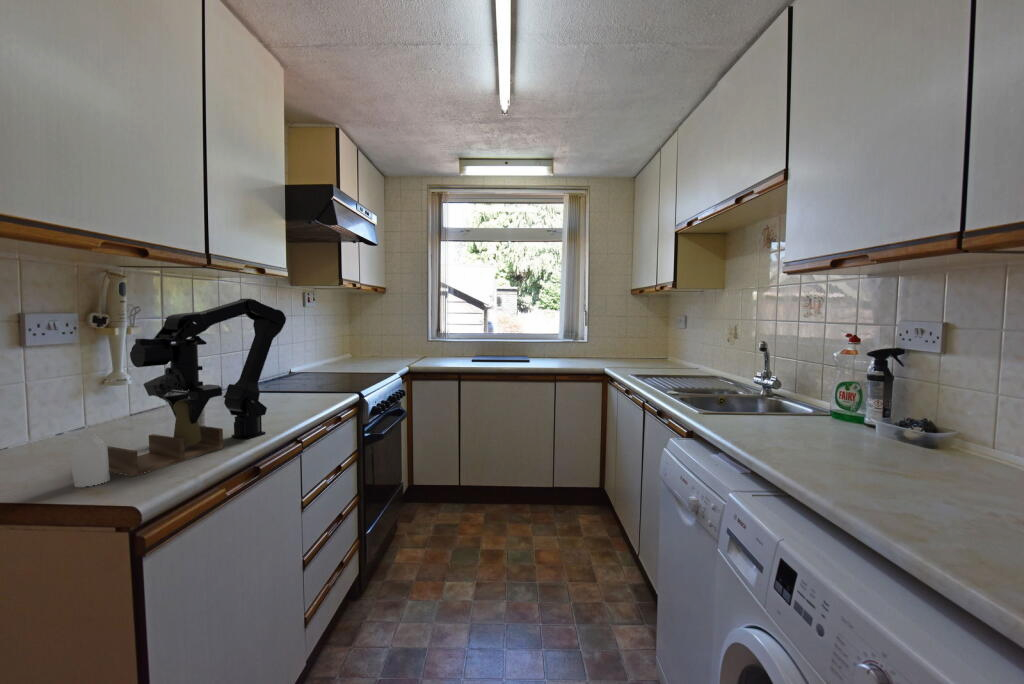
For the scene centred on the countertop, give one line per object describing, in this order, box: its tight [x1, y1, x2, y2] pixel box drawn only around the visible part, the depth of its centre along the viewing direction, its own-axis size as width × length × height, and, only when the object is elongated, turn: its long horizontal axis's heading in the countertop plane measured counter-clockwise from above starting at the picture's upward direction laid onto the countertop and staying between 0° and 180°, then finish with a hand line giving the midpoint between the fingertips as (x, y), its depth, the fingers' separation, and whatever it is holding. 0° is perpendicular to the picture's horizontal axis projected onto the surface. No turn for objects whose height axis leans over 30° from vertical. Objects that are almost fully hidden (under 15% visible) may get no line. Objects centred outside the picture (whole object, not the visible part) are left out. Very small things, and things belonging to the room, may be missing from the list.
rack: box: [107, 425, 224, 477], centre depth 106 cm, size 21×11×6 cm, turn 162°
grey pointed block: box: [70, 427, 111, 488], centre depth 90 cm, size 6×12×6 cm
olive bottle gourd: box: [173, 400, 202, 445], centre depth 110 cm, size 6×6×11 cm
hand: (186, 422), depth 110 cm, fingers closed on olive bottle gourd, 5 cm apart
